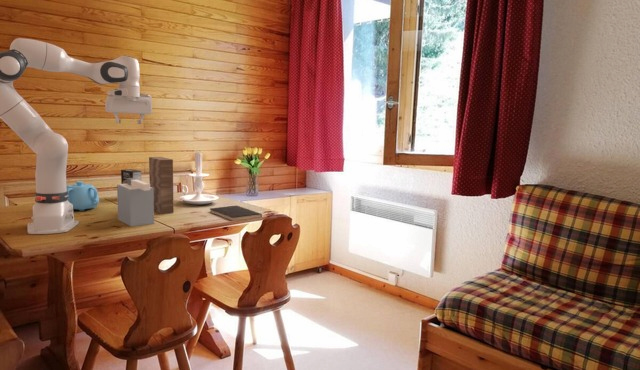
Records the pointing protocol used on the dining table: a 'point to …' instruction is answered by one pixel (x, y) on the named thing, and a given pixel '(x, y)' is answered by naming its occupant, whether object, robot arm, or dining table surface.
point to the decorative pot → (82, 196)
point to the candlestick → (197, 185)
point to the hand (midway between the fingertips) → (129, 123)
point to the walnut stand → (162, 183)
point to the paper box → (135, 205)
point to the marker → (138, 184)
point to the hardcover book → (235, 213)
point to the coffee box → (130, 175)
